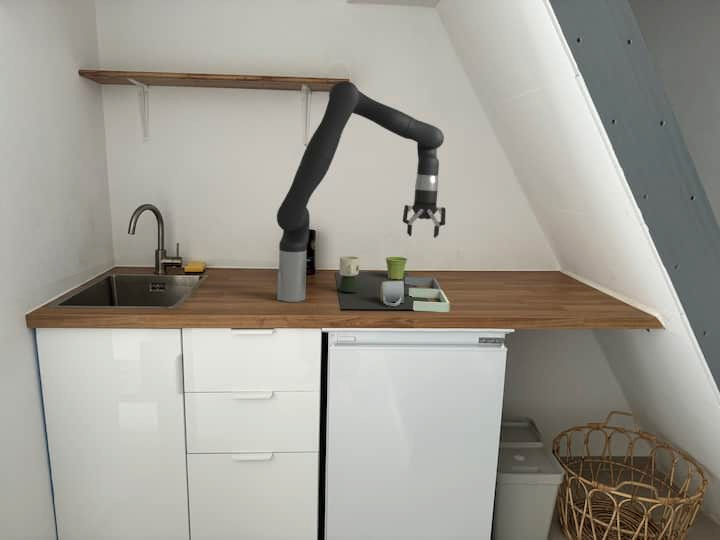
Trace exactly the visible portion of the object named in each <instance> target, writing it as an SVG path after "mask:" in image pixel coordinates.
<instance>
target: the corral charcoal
mask: <svg viewBox="0 0 720 540" xmlns="http://www.w3.org/2000/svg"><path fill="white" fill-rule="evenodd" d="M405 284H410V285H409V286H426V287H427V286H429V287H433V289H435V290H442V291H443V289H442V287H441V286H440V284H439V283H438V281H437V279H436V278H433V277H415V276H414V277H413V276H405V279H404V285H405ZM413 288H414V289H431V288H428V287H427V288H425V287H424V288H423V287H413ZM407 295H409V293H408V294H407Z"/></svg>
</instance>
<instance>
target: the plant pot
mask: <svg viewBox="0 0 720 540" xmlns="http://www.w3.org/2000/svg"><path fill="white" fill-rule="evenodd" d="M384 259H385V261H386V265H387V266H386V267H387V279H390V278H391V279H390V280H392V279H398V280H400V279H401V280H403V279H404V272H405V267H406V263H407V261H408V258H407V257H402V256H387V257H385V258H384Z"/></svg>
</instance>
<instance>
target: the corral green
mask: <svg viewBox="0 0 720 540" xmlns="http://www.w3.org/2000/svg"><path fill="white" fill-rule="evenodd" d="M414 288H415V287H408V294H409V296H412V297H411V298H426V299H427V298H429V299H430V298H431V299H439V300H440V302H437V301H419V300H418V301H416V300H413V302H412V303H413V305H412V306H413V307H412V311H413V310H414V312H415V311H417V312H438V313H450V307H451V302H450V301H449V299H448V298H447V296H446V295H445V293H444V291H443V289H442V290H435V289H434V288H430V289H414ZM409 296H408V297H409Z"/></svg>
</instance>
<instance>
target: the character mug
mask: <svg viewBox="0 0 720 540" xmlns="http://www.w3.org/2000/svg"><path fill="white" fill-rule="evenodd" d="M359 267H360V257H357V256H353V255H352V256H348V255H346V256H345V255H344V256H340V257H339V274H338V275H340V276H341V278H340V279H341V280H340V286H339V291H340V292H344V293H345V292H347V294H349V293H356V292H357V290H358V289H357V279H356V276H357V275H359V272H360V270H359V269H360V268H359Z"/></svg>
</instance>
